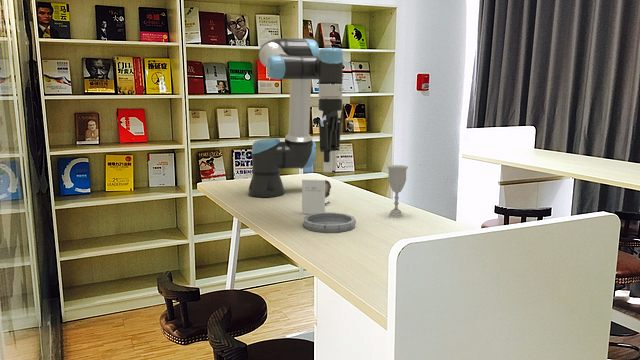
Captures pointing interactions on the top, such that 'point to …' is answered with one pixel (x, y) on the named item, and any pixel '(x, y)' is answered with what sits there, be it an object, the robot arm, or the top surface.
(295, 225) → the top surface
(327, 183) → the eagle figurine
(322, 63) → the robot arm
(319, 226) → the dish
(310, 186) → the external hard drive
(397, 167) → the chalice
